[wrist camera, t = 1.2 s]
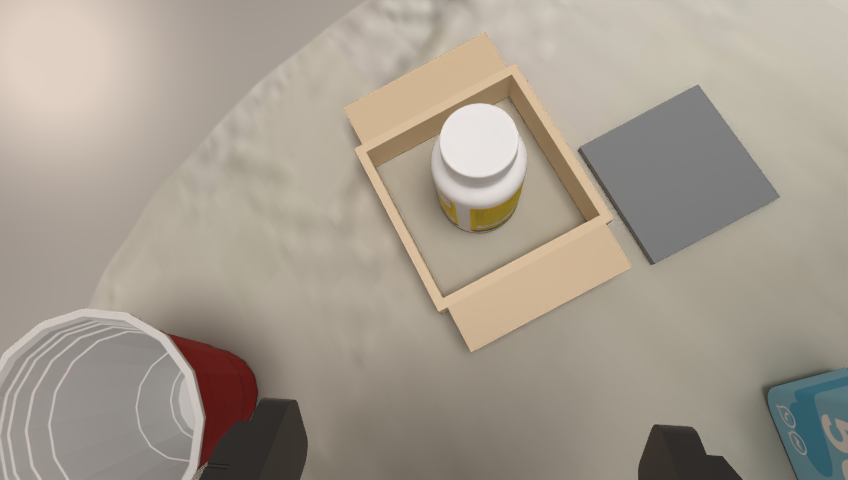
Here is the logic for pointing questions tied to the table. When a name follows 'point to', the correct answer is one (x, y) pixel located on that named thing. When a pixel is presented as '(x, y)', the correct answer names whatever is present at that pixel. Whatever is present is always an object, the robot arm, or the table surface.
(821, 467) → the data package
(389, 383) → the table surface
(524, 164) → the supplement bottle
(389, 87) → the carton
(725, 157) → the coaster
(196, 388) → the plastic cup
